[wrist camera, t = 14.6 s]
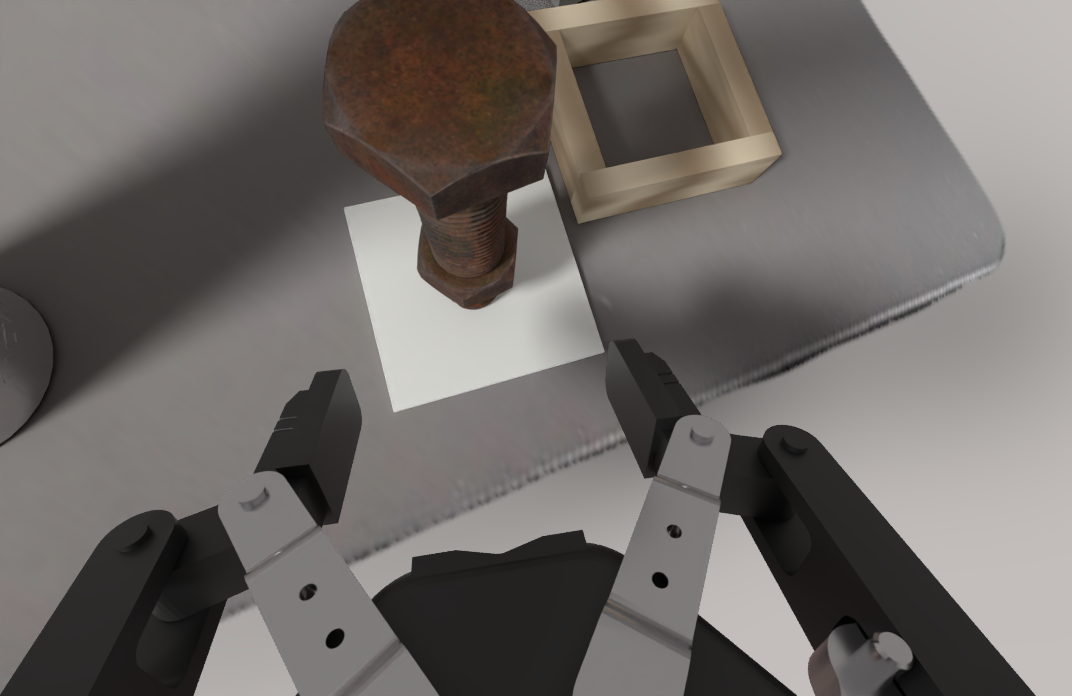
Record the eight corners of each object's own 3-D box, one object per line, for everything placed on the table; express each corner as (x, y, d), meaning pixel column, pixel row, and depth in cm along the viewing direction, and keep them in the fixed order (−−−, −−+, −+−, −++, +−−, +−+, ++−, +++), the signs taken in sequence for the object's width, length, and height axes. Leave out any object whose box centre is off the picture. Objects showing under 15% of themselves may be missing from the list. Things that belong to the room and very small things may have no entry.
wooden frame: (577, 223, 26) (588, 198, 23) (522, 55, 28) (526, 11, 25) (751, 182, 28) (782, 154, 25) (689, 26, 29) (711, -18, 26)
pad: (395, 412, 23) (393, 412, 22) (345, 210, 25) (343, 207, 24) (602, 353, 25) (604, 352, 24) (543, 168, 26) (544, 164, 26)
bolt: (540, 278, 25) (611, 64, 10) (489, 348, 24) (484, 226, 9) (458, 222, 25) (406, -74, 10) (404, 289, 24) (259, 71, 9)
